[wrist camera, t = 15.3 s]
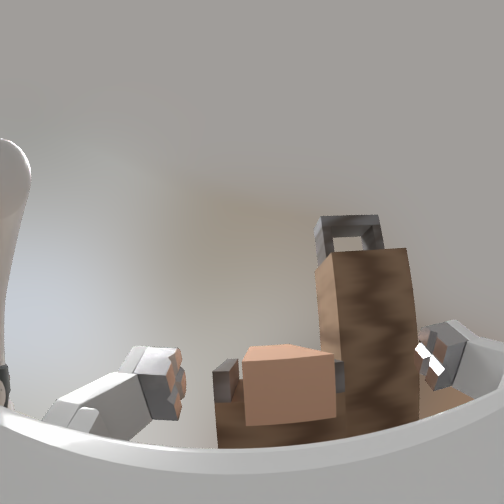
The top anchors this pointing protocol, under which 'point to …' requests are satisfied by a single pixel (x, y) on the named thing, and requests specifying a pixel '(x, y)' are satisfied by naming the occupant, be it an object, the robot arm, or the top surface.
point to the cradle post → (241, 436)
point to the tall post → (368, 323)
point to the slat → (288, 385)
